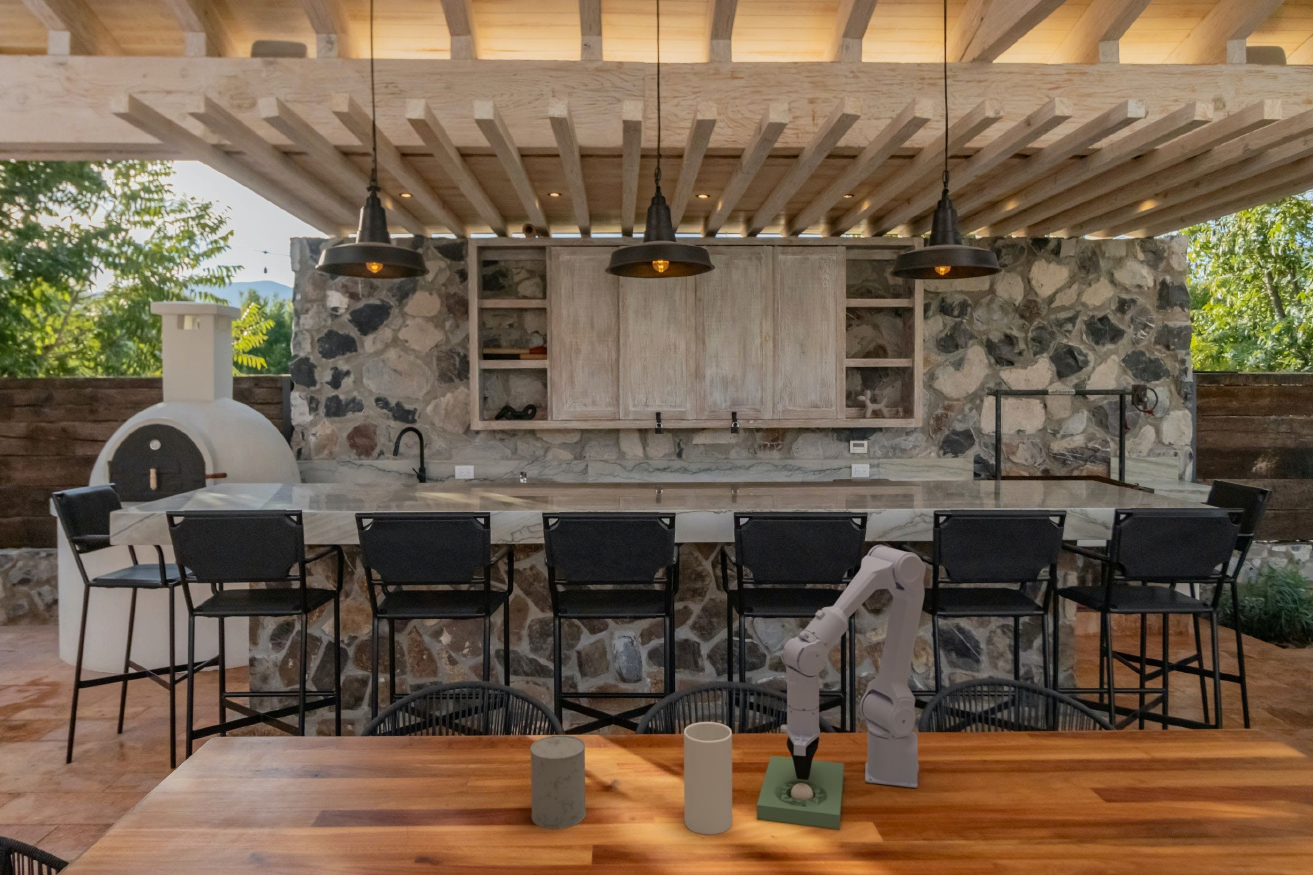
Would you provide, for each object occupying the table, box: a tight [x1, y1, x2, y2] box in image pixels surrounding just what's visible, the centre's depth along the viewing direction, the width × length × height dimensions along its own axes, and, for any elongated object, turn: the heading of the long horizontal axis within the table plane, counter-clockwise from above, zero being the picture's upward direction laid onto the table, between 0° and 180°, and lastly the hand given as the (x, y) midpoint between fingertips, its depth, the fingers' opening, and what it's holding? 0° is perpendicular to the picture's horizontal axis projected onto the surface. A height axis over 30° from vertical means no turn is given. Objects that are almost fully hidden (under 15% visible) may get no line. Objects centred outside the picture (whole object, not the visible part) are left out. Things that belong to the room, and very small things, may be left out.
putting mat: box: [756, 755, 845, 830], centre depth 150 cm, size 20×14×2 cm
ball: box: [791, 783, 813, 801], centre depth 147 cm, size 4×4×4 cm
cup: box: [683, 721, 733, 835], centre depth 141 cm, size 8×8×16 cm
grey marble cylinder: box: [530, 734, 587, 830], centre depth 144 cm, size 10×10×12 cm
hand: (802, 777), depth 150 cm, fingers closed
